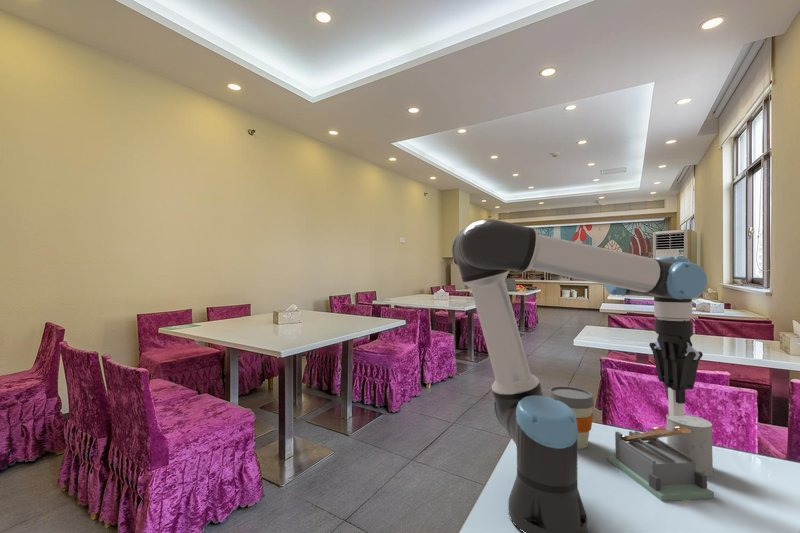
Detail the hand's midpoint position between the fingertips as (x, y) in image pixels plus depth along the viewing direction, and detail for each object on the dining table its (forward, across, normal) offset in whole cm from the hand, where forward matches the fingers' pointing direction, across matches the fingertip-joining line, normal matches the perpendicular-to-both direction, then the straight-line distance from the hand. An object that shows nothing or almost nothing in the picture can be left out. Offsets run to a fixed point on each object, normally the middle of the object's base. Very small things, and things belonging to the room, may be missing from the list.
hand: (676, 414), depth 87 cm
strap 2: (+7, +3, 0) cm, 8 cm away
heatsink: (+16, +3, +3) cm, 17 cm away
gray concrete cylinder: (+17, +7, -10) cm, 21 cm away
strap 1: (+7, +3, +6) cm, 10 cm away
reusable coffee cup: (+17, +23, +14) cm, 31 cm away
